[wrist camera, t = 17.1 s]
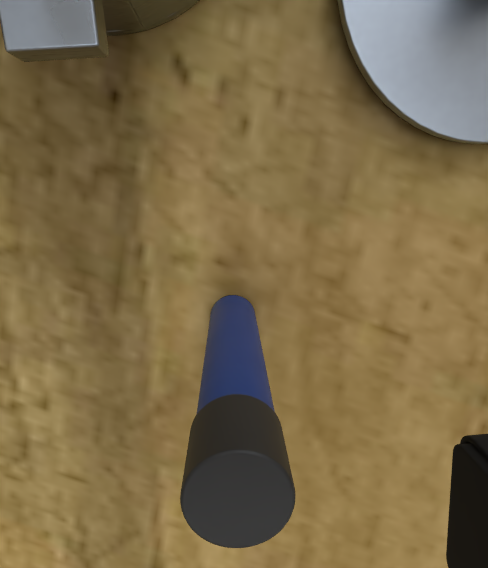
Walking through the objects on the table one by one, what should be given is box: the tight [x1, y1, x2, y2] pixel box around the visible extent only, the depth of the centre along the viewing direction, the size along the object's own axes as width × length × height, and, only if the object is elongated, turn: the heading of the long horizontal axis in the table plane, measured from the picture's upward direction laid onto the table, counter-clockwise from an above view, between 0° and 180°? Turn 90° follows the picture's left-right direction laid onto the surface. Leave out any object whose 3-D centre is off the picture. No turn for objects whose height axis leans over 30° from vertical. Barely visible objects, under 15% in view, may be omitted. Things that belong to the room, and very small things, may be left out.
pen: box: [180, 295, 295, 548], centre depth 15 cm, size 2×2×12 cm
